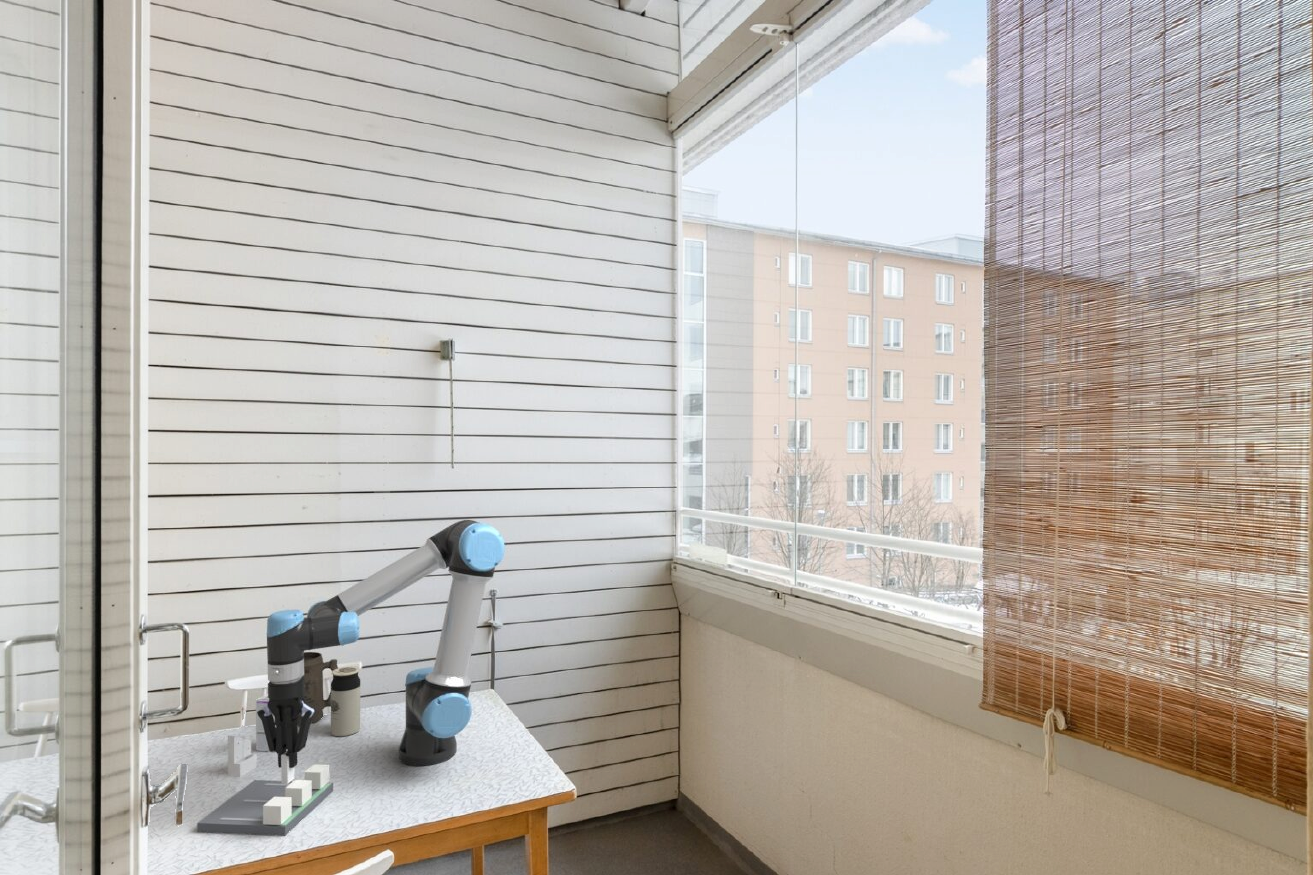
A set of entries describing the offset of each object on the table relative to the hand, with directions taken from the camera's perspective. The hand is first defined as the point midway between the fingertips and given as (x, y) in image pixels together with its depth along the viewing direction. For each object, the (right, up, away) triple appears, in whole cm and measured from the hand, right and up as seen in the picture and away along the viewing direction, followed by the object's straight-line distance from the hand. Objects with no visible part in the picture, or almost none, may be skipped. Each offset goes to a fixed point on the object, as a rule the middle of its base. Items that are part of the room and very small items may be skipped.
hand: (288, 780), depth 166 cm
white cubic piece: (+3, -5, +7) cm, 9 cm away
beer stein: (-21, -7, +55) cm, 59 cm away
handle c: (+2, -5, -9) cm, 10 cm away
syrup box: (-22, -7, +34) cm, 41 cm away
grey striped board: (-4, -7, 0) cm, 8 cm away
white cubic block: (+3, -5, -1) cm, 5 cm away
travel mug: (-6, -7, +45) cm, 46 cm away
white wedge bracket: (-22, -7, +20) cm, 31 cm away
